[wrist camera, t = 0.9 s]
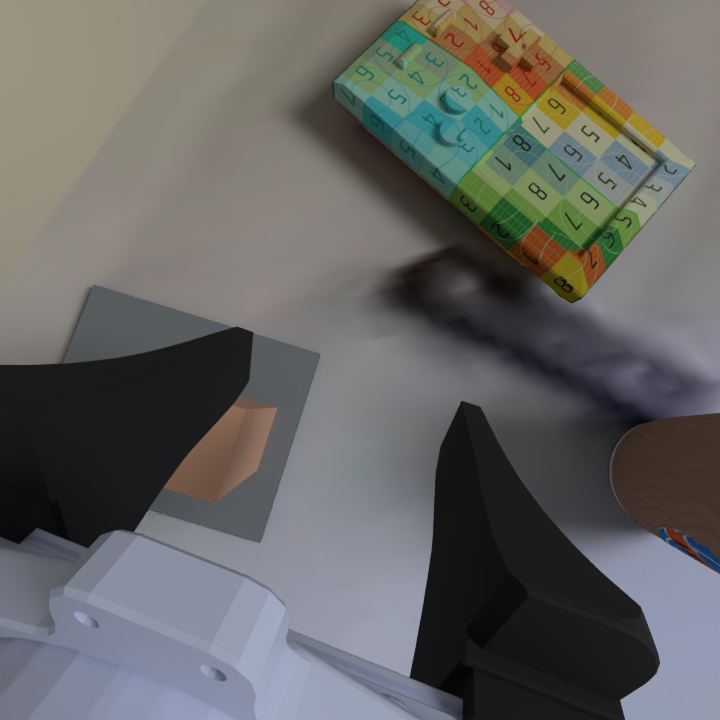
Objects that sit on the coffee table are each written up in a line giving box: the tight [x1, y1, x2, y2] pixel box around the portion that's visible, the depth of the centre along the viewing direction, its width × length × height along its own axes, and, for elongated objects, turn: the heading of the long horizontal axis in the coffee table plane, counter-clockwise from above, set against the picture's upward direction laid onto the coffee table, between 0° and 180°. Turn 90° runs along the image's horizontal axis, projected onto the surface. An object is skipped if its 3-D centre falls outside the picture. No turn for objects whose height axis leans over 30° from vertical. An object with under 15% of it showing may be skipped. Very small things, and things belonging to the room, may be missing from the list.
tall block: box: [164, 396, 278, 503], centre depth 20 cm, size 4×4×8 cm
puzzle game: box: [333, 0, 696, 303], centre depth 26 cm, size 12×5×20 cm
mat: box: [62, 285, 320, 543], centre depth 25 cm, size 12×15×1 cm
